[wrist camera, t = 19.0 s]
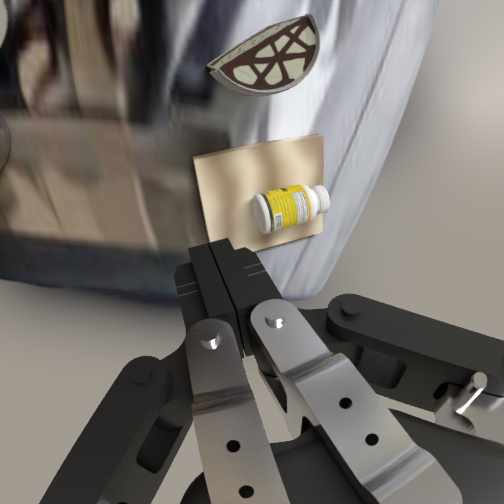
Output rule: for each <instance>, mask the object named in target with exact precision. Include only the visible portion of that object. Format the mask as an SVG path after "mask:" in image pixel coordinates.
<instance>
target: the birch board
mask: <svg viewBox="0 0 504 504" xmlns="http://www.w3.org/2000/svg"><path fill="white" fill-rule="evenodd" d="M192 158H193V163H194V169H195V174H196V179H197V185H198V190H199V195H200V200H201V205H202V210H203V215H204V220H205V225H206V230H207V235H208V239H209V242H213V241H217V240H221V239H224V238H229V240H230V242H231V244H232V246H233V248H234V250H236V249H239V248H243V247H246V248H248V249H250V250H251V251H253V252H254V251H257V250H261V249H264V248H268V247H272V246H275V245H279V244H282V243H286V242H289V241H293V240H296V239H300V238H303V237H307V236H311V235H314V234H318V233H321V232H322V225H323V213H322V214H316V216H315V218H314V219H313V220H312V221H311V222H307V223H304V224H300V225H296V226H292V227H289V228H285V229H281V230H278V231H274V232H270V233H266V234H264V233H262V232H261V231H260V229H259V228H258V226H257V223H256V220H255V217H254V213H253V207H252V199H253V196H254V195H256V194H259V193H263V192H267V191H271V190H276V189H280V188H285V187H289V186H294V185H299V184H304V185H307V186H308V187H309V188H310V187H313V186H317V185H322V186H323V174H324V154H323V136H321V135H319V134H315V135H307V136H300V137H293V138H287V139H280V140H274V141H268V142H263V143H257V144H252V145H246V146H241V147H236V148H231V149H226V150H221V151H217V152H212V153H207V154H203V155H199V156H194V157H192Z"/></svg>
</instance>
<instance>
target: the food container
mask: <svg viewBox="0 0 504 504" xmlns="http://www.w3.org/2000/svg"><path fill="white" fill-rule="evenodd" d="M319 50H320V33H319V28H318V25H317V22H316V20H315V18H314V16H313V14H311V13H310V14H305V16H301V17H297V18H294V19H290V20H287V21H283V22H280V23H277V24H274V25H271V26H267V27H266V28H264V29H262V30H260V31H259V32H257V33H255V34H254V35H252V36H250V37H249V38H247V39H245V40H244V41H242V42H241V43H239V44H237V45H236V46H234V47H233V48H231V49H230V50H228V51H227V52H225V53H224V54H222V55H221V56H219V57H218V58H216V59H215V60H213V61H212V62H210V63H209V64H207V65H206V66H207V67H208V68H209V69H210V70H211V71H212V72H210V74H211V75H212V76H213V77H214V78H215V79H216V80H217V81H218V82H219V83H221V84H222V85H223V86H225V87H227V88H229V89H230V90H233V91H235V92H238V93H240V94H245V95H250V96H268V95H272V94H276V93H280V92H283V91H285V90H288V89H290V88H292V87H294V86H295V85H297V84H298V83H299V82H301V81H302V80H303V79H304V78H305V77H306V76H307V75H308V73H309V72H310V71H311V69H312V68H313V66H314V64H315V62H316V60H317V58H318V54H319Z"/></svg>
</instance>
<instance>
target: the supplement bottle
mask: <svg viewBox="0 0 504 504" xmlns="http://www.w3.org/2000/svg"><path fill="white" fill-rule="evenodd" d="M252 207H253V213H254V217H255V220H256V223H257V226H258V228H259V229H260V231H261V232H262V233H264V234H266V233H270V232H274V231H278V230H281V229H285V228H289V227H292V226H296V225H300V224H304V223H307V222H311V221H312V220H313V219H314V218H315V216H316V214H322V213H326V212H327V211H328V210H329V207H330V200H329V196H328V193H327V191H326V189H325V188H324V187H323V186H322V185H317V186H313V187H310V188H309V187H308V186H307V185H304V184H299V185H294V186H289V187H285V188H280V189H276V190H271V191H267V192H263V193H259V194H256V195H254V196H253V199H252Z"/></svg>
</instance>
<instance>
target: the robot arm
mask: <svg viewBox="0 0 504 504" xmlns="http://www.w3.org/2000/svg"><path fill="white" fill-rule="evenodd" d="M9 152H10V133H9V129H8V127H7V124H6V122H5V121H4V119H3V118H2V117H1V116H0V170H1V169H2V167H3V166H4V165H5V163H6V161H7V158H8V155H9ZM188 250H189V254H190V258H191V262H189V263H186V264H182V265H179V266H177V269H176V272H175V275H174V279H175V283H176V288H177V293H178V296H179V302H180V306H181V310H182V315H183V319H184V323H185V327H186V336H185V340H184V341H183V343H182V344H181V346H180V347H179V348H178V349H177V350H176V351H175V352H173V353H172V354H170V355H168V356H167V357H165V358H164V359H162V360H159V359H157V358H155V357H152V356H141V357H138V358H135V359H133V360H131V361H130V362H129V363H128V364H127V365H126V366H125V367H124V368H123V369H122V371H121V373H120V374H119V375H118V377H117V379H116V380H115V381H114V383H113V385H112V386H111V388H110V389H109V391H108V392H107V394H106V395H105V397H104V398H103V400H102V401H101V403H100V405H99V406H98V408H97V409H96V411H95V412H94V414H93V415H92V417H91V418H90V420H89V422H88V424H87V425H86V427H85V428H84V430H83V431H82V433H81V435H80V436H79V438H78V439H77V441H76V442H75V444H74V446H73V447H72V449H71V451H70V453H69V454H68V455H67V457H66V459H65V460H64V462H63V464H62V465H61V467H60V469H59V470H58V472H57V474H56V475H55V477H54V479H53V481H52V482H51V484H50V486H49V487H48V489H47V491H46V493H45V495H44V496H43V498H42V499H41V501H40V503H39V504H151V502H152V500H153V498H154V497H155V495H156V493H157V491H158V489H159V487H160V485H161V483H162V481H163V479H164V477H165V475H166V473H167V472H168V470H169V468H170V466H171V464H172V462H173V460H174V458H175V456H176V454H177V452H178V450H179V448H180V446H181V444H182V442H183V440H184V438H185V436H186V434H187V432H188V430H189V428H190V426H191V424H192V421H194V427H195V432H196V437H197V442H198V447H199V452H200V456H201V462H202V466H203V472H202V473H201V474H200V475H199V476H198V477H196V478H195V480H194V481H193V482H192V483H191V484H190V486H189V487H188V489H187V490H186V492H185V494H184V496H183V498H182V500H181V502H180V504H504V341H503V340H499V339H496V338H493V337H489V336H486V335H483V334H480V333H477V332H473V331H470V330H467V329H464V328H461V327H457V326H454V325H451V324H448V323H445V322H441V321H438V320H435V319H432V318H429V317H425V316H422V315H419V314H416V313H412V312H410V311H407V310H403V309H400V308H397V307H394V306H391V305H388V304H385V303H381V302H378V301H375V300H372V299H369V298H366V297H363V296H360V295H356V294H342V295H339V296H337V297H335V298H333V299H332V300H331V302H330V303H329V305H328V308H325V309H312V310H305V309H299V308H296V307H295V306H294V305H293V304H292V303H290V302H288V301H286V300H284V299H283V298H282V296H281V294H280V293H279V291H278V289H277V288H276V286H275V284H274V283H273V281H272V279H271V278H270V276H269V275H268V273H267V271H266V270H265V268H264V266H263V265H262V264H261V261H260V260H259V258H258V257H257V255H256V253H254V252H253V251H251V250H250V249H248V248H246V247H243V248H239V249H236V250H234V248H233V246H232V244H231V242H230V240H229V238H224V239H221V240H217V241H213V242H209V246H208V244H207V243H206V244H202V245H199V246H195V247H192V248H188ZM242 347H243V348H242ZM243 350H244V352H245V355H246V356H250V355H253V354H254V357H255V359H256V361H257V364H258V369H259V373H260V375H261V377H262V379H263V381H264V383H265V385H266V386H267V388H268V390H269V392H270V393H271V395H272V397H273V399H274V401H275V402H276V404H277V406H278V408H279V409H280V411H281V413H282V415H283V417H284V419H285V421H286V424H287V427H288V429H289V432H290V434H291V436H292V438H293V440H292V441H286V442H278V443H269V441H268V438H267V435H266V432H265V429H264V426H263V423H262V420H261V417H260V414H259V410H258V408H257V404H256V401H255V398H254V395H253V392H252V390H251V388H250V385H249V382H248V379H247V375H246V372H245V369H244V366H243V361H242V358H244V353H243ZM377 394H379V395H382V396H384V397H388V398H390V399H393V400H396V401H399V402H402V403H405V404H409V405H412V406H415V407H418V408H421V409H424V410H427V411H431V412H434V415H435V418H436V424H435V423H432V422H429V421H426V420H423V419H420V418H418V417H415V416H412V415H409V414H406V413H404V412H401V411H398V410H393V409H389V408H387V407H386V406H385V405H384V403H383V402H382V401H381V399H380V398H379V397H378V396H377Z"/></svg>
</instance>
